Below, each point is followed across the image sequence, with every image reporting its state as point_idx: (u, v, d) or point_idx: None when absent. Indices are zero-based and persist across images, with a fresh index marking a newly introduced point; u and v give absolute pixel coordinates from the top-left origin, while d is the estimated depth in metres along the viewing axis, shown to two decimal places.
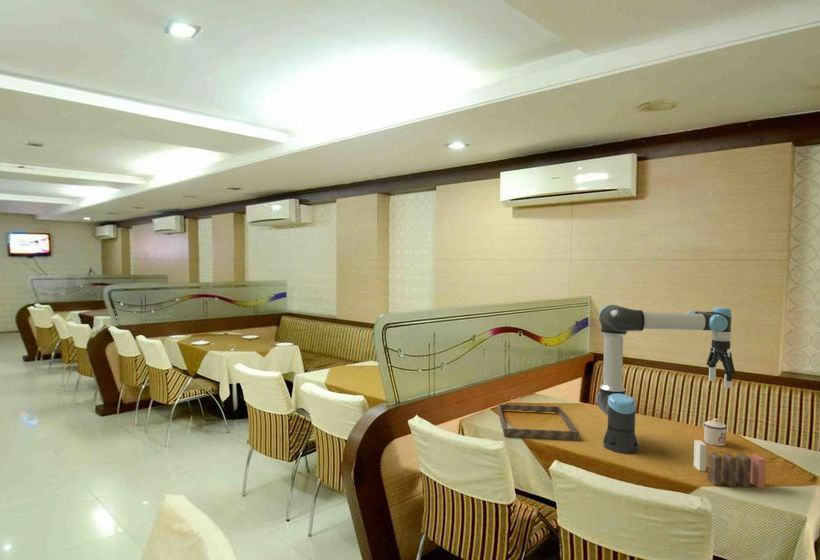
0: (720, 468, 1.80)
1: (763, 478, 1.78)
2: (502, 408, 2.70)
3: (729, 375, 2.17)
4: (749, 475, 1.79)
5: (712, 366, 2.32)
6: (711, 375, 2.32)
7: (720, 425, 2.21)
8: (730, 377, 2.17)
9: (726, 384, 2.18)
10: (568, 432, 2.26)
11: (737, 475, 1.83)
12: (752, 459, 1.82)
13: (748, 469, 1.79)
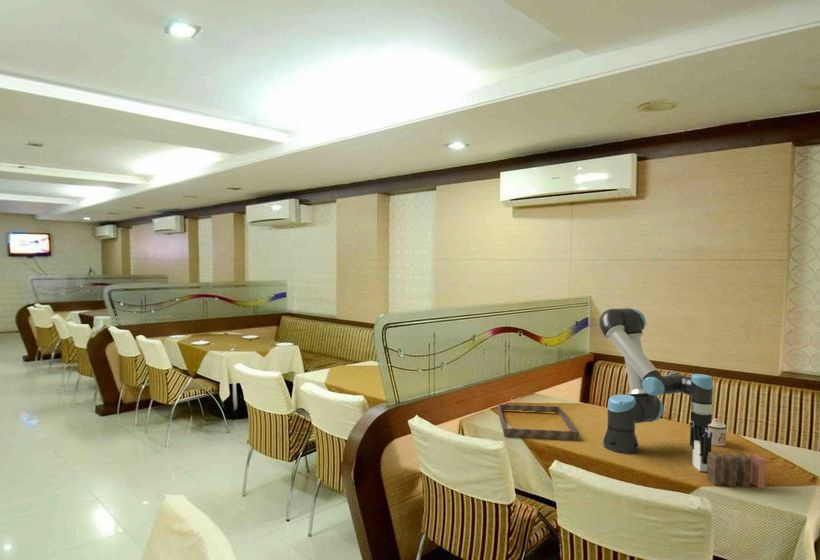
0: (720, 468, 1.80)
1: (763, 478, 1.78)
2: (502, 408, 2.70)
3: (704, 457, 1.91)
4: (749, 475, 1.79)
5: None
6: None
7: (720, 425, 2.21)
8: (706, 460, 1.91)
9: (701, 467, 1.92)
10: (568, 432, 2.26)
11: (737, 475, 1.83)
12: (752, 459, 1.82)
13: (748, 469, 1.79)
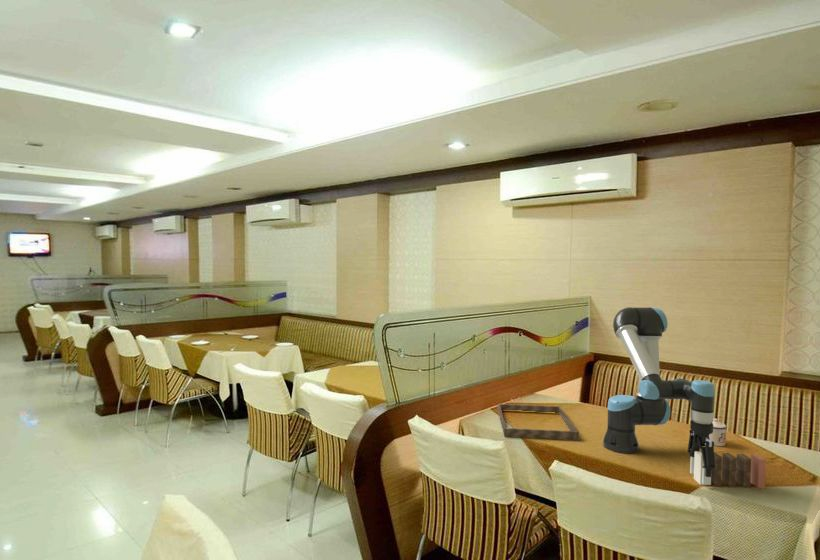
0: (720, 468, 1.80)
1: (763, 478, 1.78)
2: (502, 408, 2.70)
3: (708, 470, 1.77)
4: (749, 475, 1.79)
5: None
6: (693, 467, 1.87)
7: (720, 425, 2.21)
8: (709, 472, 1.77)
9: (704, 480, 1.78)
10: (568, 432, 2.26)
11: (737, 475, 1.83)
12: (752, 459, 1.82)
13: (748, 469, 1.79)
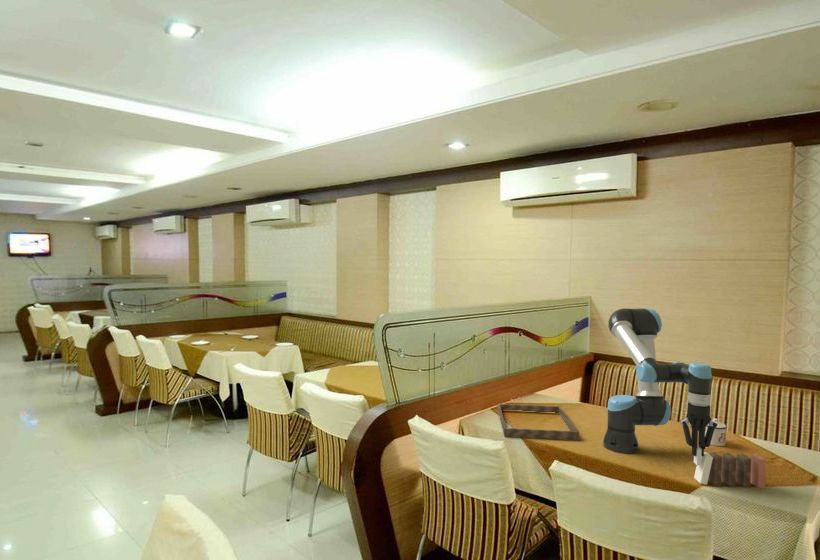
0: (720, 468, 1.80)
1: (763, 478, 1.78)
2: (502, 408, 2.70)
3: (692, 447, 1.83)
4: (749, 475, 1.79)
5: (700, 445, 1.83)
6: None
7: (720, 425, 2.21)
8: (692, 450, 1.83)
9: (694, 459, 1.84)
10: (568, 432, 2.26)
11: (737, 475, 1.83)
12: (752, 459, 1.82)
13: (748, 469, 1.79)
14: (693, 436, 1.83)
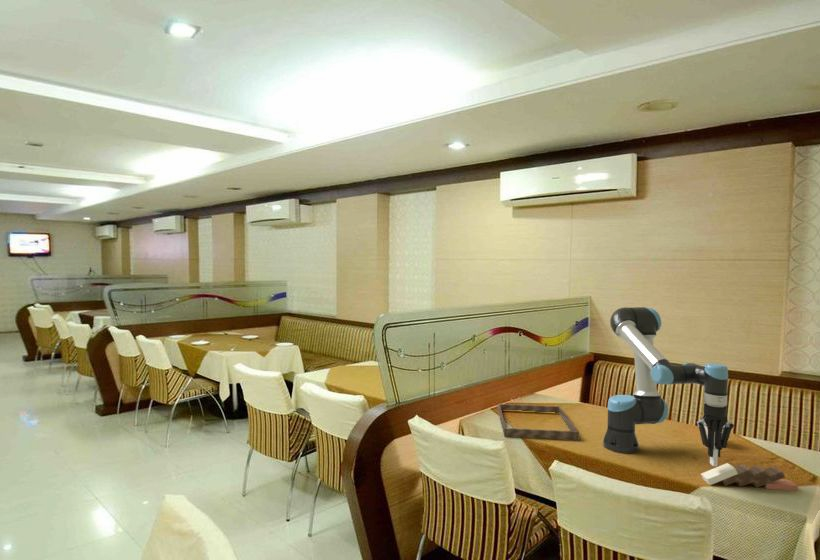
0: (741, 478, 1.79)
1: None
2: (502, 408, 2.70)
3: (708, 448, 1.83)
4: (767, 482, 1.78)
5: (716, 446, 1.82)
6: None
7: None
8: (709, 451, 1.82)
9: (710, 459, 1.83)
10: (568, 432, 2.26)
11: None
12: (785, 480, 1.81)
13: (773, 479, 1.78)
14: (709, 437, 1.82)
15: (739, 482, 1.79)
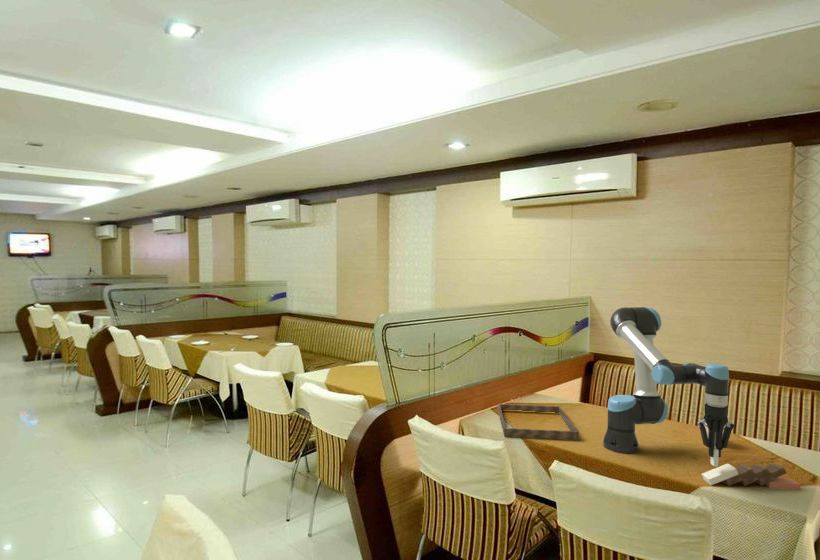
0: (744, 478, 1.80)
1: None
2: (502, 408, 2.70)
3: (709, 449, 1.83)
4: (771, 479, 1.80)
5: (717, 446, 1.82)
6: None
7: None
8: (709, 451, 1.82)
9: (711, 460, 1.83)
10: (568, 432, 2.26)
11: None
12: (788, 479, 1.82)
13: (776, 475, 1.80)
14: (710, 437, 1.82)
15: (744, 481, 1.79)
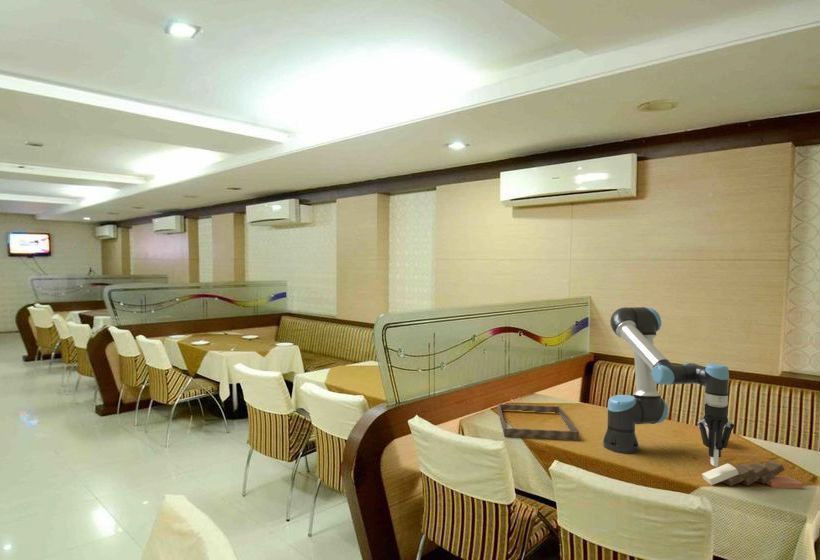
0: (745, 478, 1.80)
1: (782, 487, 1.79)
2: (502, 408, 2.70)
3: (709, 449, 1.83)
4: (772, 476, 1.82)
5: (717, 446, 1.82)
6: None
7: None
8: (709, 451, 1.82)
9: (711, 460, 1.83)
10: (568, 432, 2.26)
11: None
12: (790, 478, 1.83)
13: (776, 473, 1.82)
14: (710, 437, 1.82)
15: (747, 481, 1.80)
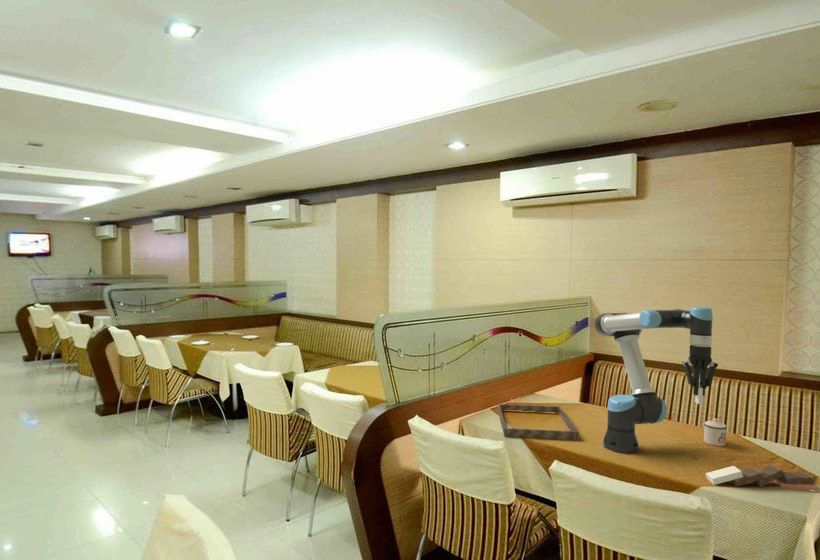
0: (753, 480, 1.79)
1: None
2: (502, 408, 2.70)
3: (693, 387, 1.91)
4: (798, 482, 1.79)
5: (701, 385, 1.91)
6: None
7: (720, 425, 2.21)
8: (694, 390, 1.91)
9: (695, 398, 1.92)
10: (568, 432, 2.26)
11: (784, 473, 1.83)
12: None
13: (804, 481, 1.79)
14: (695, 376, 1.91)
15: (760, 482, 1.79)
